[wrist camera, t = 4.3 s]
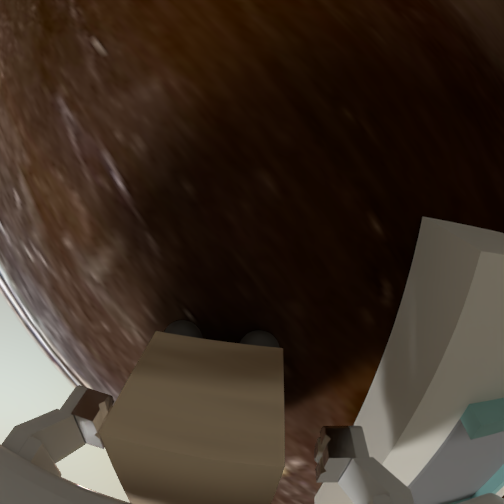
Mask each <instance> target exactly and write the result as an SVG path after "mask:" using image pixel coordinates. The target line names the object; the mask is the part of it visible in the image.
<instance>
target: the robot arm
mask: <svg viewBox="0 0 504 504" xmlns="http://www.w3.org/2000/svg"><path fill="white" fill-rule="evenodd" d="M113 403H114V400H113V397H112V396H111V395H108V394H105V393H101V392H98V391H95V390H92V389H89V388H86V387H83V386H80V385H79V386H77V387H76V388H75V389H74V391H73V392H72V393H71V395H70V396H69V398H68V399H67V400H66V402H65V403H64V405H63V406H62V407H61V409H60V410H59V409H56V410H53V411H51V412H49V413H46V414H44V415H42V416H39V417H37V418H34V419H32V420H29V421H27V422H24V423H22V424H20V425H17V426H15V427H14V428H13V430H12V431H11V432H10V434H9V435H8V437H7V438H6V439H5V441H4V442H3V443H2V445H0V504H132V503H128V502H125V501H122V500H119V499H115V498H113V497H110V496H107V495H104V494H101V493H98V492H96V491H93V490H91V489H88V488H85V487H83V486H81V485H78V484H76V483H73V482H71V481H68V480H66V479H64V478H62V477H61V473H60V471H59V469H58V468H57V466H56V465H55V463H56V462H58V461H60V460H61V459H63V458H65V457H66V456H68V455H69V454H71V453H73V452H74V451H76V450H77V449H79V448H80V447H82V446H83V445H85V443H87V444H90V445H93V446H96V447H99V448H103V449H104V447H105V446H104V444H103V441H102V439H101V436H100V433H99V431H100V429H101V428H102V426H103V424H104V422H105V420H106V418H107V416H108V415H109V413H110V411H111V409H112V407H113V405H112V404H113ZM320 436H321V437H319V438H318V439H317V441H316V444H315V450H314V457H315V461H316V462H317V463H318V465H317V467H316V469H315V470H316V482H338V484H339V486H340V487H341V488H342V489H343V491H344V492H345V493H346V494H347V496H348V497H349V498H350V499H351V501H352V502H353V503H354V504H414V500H413V496H412V493H411V490H410V489H409V488H408V487H407V486H406V485H405V484H403V483H402V482H401V481H400V480H399V479H398V478H396V477H395V476H394V475H393V474H392V473H391V472H389V471H388V470H387V469H386V468H385V467H384V466H383V465H382V464H380V463H379V462H378V461H377V460H376V459H375V458H374V457H369V452H368V448H367V444H366V440H365V436H364V432H363V428H362V427H361V426H323V427H322V428H321V431H320ZM457 504H504V499H503V498H501V497H500V496H498V495H496V494H494V493H487V494H483V495H481V496H478V497H475V498H472V499H469V500H466V501H463V502H460V503H457Z"/></svg>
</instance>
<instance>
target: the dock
mask: <svg viewBox="0 0 504 504" xmlns="http://www.w3.org/2000/svg"><path fill="white" fill-rule="evenodd" d="M353 426H361V427H362V428H363V432H364V436H365V440H366V444H367V448H368V452H369V457H374V458H375V459H376V460H377V461H378V462H379V463H380V464H382V465H383V466H384V467H385V468H386V469H387V470H388V471H389V472H391V473H392V474H393V475H394V476H395V477H396V478H398V479H399V480H400V481H401V482H402V483H403V484H405V485H406V486H407V487H408V488H409V489H410V490H411V493H412V496H413V500H414V504H457V503H460V502H463V501H466V500H469V499H472V498H475V497H478V496H481V495H483V494H487V493H494V494H496V495H498V496H500V497H502V496H503V495H504V233H501V232H497V231H492V230H488V229H483V228H479V227H474V226H469V225H464V224H459V223H454V222H449V221H444V220H439V219H434V218H428V217H423V216H422V221H421V226H420V231H419V235H418V240H417V244H416V248H415V253H414V257H413V261H412V265H411V268H410V272H409V276H408V280H407V283H406V287H405V290H404V294H403V297H402V300H401V304H400V307H399V310H398V313H397V316H396V320H395V323H394V326H393V329H392V332H391V334H390V337H389V340H388V343H387V346H386V349H385V351H384V354H383V357H382V359H381V362H380V365H379V367H378V370H377V372H376V375H375V377H374V380H373V382H372V385H371V387H370V389H369V392H368V394H367V397H366V399H365V401H364V403H363V406H362V408H361V410H360V412H359V415H358V417H357V419H356V421H355V423H354V425H353ZM315 504H354V503H353V502H352V501H351V499H350V498H349V497H348V496H347V494H346V493H345V492H344V491H343V489H342V488H341V487H340V486H339V484H338V482H323V484H322V486H321V488H320V489H319V491H318V493H317V494H316V496H315Z"/></svg>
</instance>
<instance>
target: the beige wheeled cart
mask: <svg viewBox="0 0 504 504" xmlns="http://www.w3.org/2000/svg"><path fill="white" fill-rule="evenodd" d="M99 433H100V436H101V439H102V441H103V444H104V446H105V449H106V451H107V453H108V456H109V458H110V460H111V463H112V465H113V467H114V470H115V472H116V474H117V476H118V478H119V480H120V483H121V485H122V487H123V489H124V491H125V493H126V495H127V497H128V499H129V501H130V503H132V504H271V502H272V500H273V497H274V494H275V492H276V489H277V486H278V484H279V481H280V478H281V475H282V473H283V470H284V467H285V431H284V370H283V348H280V347H279V343H278V341H277V339H276V338H275V337H274V336H273V335H272V334H271V333H269V332H267V331H263V330H255V331H251V332H249V333H247V334H246V335H245V336H244V337H243V338H242V339H241V341H240V343H231V342H223V341H216V340H209V339H203V337H202V333H201V331H200V330H199V328H198V327H197V326H196V325H195V324H193V323H192V322H190V321H186V320H178V321H175V322H173V323H171V324H170V325H168V326H167V328H166V329H165V331H164V332H159V331H156V332H155V334H154V335H153V337H152V339H151V340H150V342H149V344H148V345H147V347H146V349H145V351H144V352H143V354H142V356H141V358H140V359H139V361H138V363H137V365H136V366H135V368H134V370H133V372H132V373H131V375H130V377H129V379H128V380H127V382H126V384H125V386H124V387H123V389H122V391H121V393H120V395H119V396H118V398H117V400H116V402H115V404H114V405H113V407H112V409H111V411H110V413H109V415H108V416H107V418H106V420H105V422H104V424H103V426H102V428H101V429H100V431H99Z"/></svg>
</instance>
